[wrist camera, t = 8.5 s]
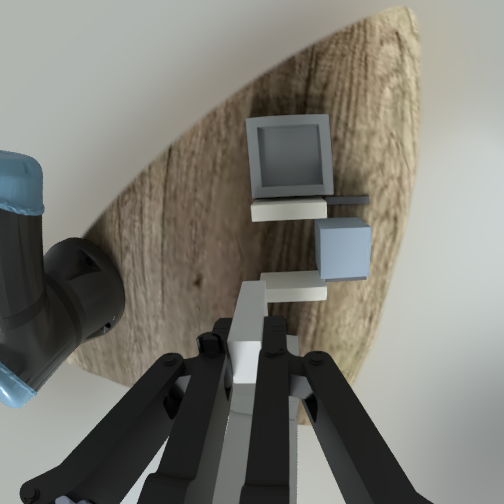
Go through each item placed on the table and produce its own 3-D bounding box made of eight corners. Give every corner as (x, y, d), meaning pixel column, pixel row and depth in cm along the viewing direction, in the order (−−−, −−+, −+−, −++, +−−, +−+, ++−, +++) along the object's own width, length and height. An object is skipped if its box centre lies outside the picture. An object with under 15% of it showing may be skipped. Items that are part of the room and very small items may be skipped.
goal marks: (325, 281, 32) (325, 282, 32) (324, 197, 29) (325, 197, 29) (365, 278, 32) (366, 279, 31) (368, 196, 29) (369, 196, 28)
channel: (262, 284, 33) (258, 302, 29) (255, 199, 30) (250, 206, 26) (321, 282, 32) (326, 299, 28) (320, 196, 29) (326, 202, 25)
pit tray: (254, 194, 30) (252, 198, 27) (248, 122, 28) (245, 118, 25) (328, 191, 29) (333, 194, 26) (324, 118, 27) (328, 114, 24)
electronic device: (281, 394, 39) (267, 582, 10) (233, 387, 39) (188, 572, 11) (299, 330, 35) (303, 581, 6) (241, 322, 35) (176, 568, 7)
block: (315, 261, 32) (320, 279, 27) (314, 218, 30) (320, 229, 25) (357, 259, 31) (368, 276, 26) (357, 216, 30) (371, 227, 25)
